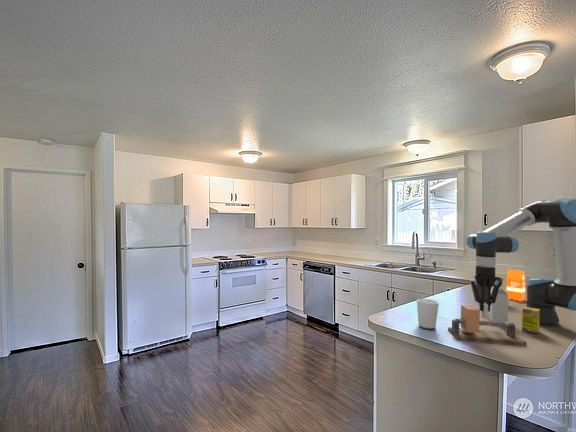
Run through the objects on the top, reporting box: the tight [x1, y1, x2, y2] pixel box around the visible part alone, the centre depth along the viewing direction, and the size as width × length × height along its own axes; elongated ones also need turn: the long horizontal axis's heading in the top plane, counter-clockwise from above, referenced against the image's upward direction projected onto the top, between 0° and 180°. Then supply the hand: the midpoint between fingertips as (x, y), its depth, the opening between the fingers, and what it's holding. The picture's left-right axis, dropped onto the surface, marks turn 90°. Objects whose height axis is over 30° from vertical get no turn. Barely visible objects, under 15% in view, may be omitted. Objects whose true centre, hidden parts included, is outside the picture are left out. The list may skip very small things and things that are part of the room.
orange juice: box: [506, 269, 526, 302], centre depth 212 cm, size 8×9×20 cm
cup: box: [416, 298, 440, 331], centre depth 149 cm, size 10×10×13 cm
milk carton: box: [487, 285, 509, 323], centre depth 163 cm, size 7×7×19 cm
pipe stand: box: [447, 318, 527, 347], centre depth 138 cm, size 27×12×8 cm, turn 81°
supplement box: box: [521, 306, 540, 335], centre depth 148 cm, size 6×6×11 cm
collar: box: [460, 304, 481, 333], centre depth 139 cm, size 5×7×10 cm
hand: (484, 318), depth 138 cm, fingers closed
